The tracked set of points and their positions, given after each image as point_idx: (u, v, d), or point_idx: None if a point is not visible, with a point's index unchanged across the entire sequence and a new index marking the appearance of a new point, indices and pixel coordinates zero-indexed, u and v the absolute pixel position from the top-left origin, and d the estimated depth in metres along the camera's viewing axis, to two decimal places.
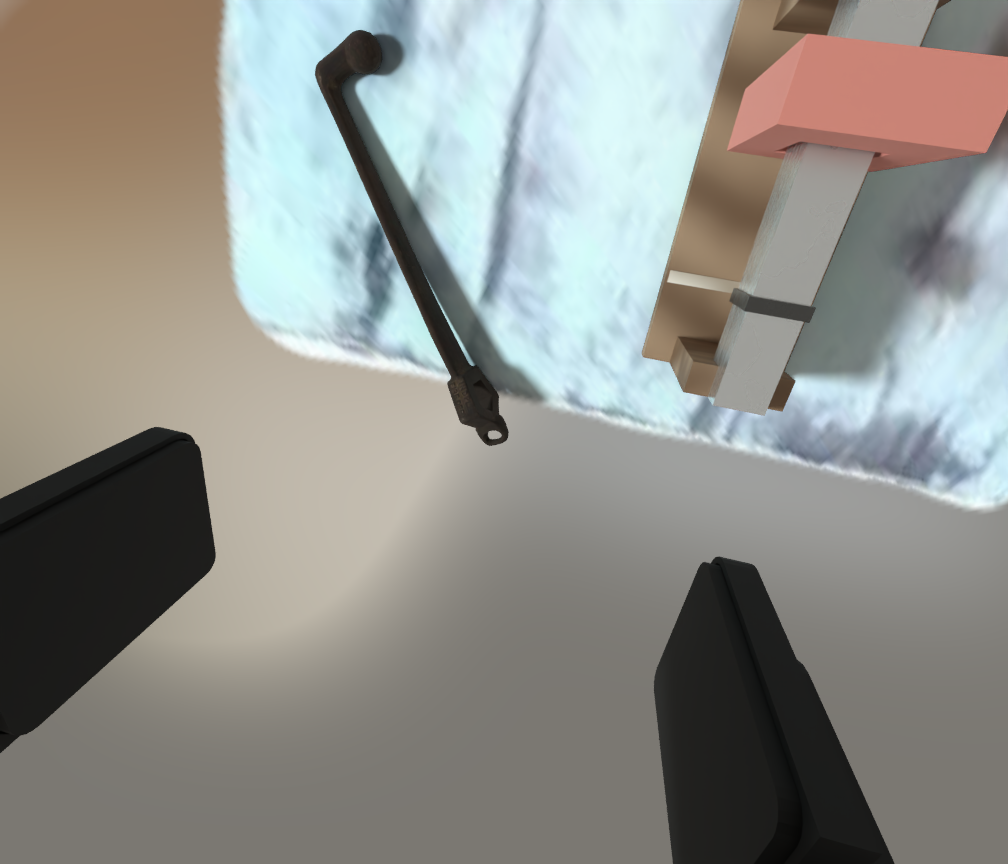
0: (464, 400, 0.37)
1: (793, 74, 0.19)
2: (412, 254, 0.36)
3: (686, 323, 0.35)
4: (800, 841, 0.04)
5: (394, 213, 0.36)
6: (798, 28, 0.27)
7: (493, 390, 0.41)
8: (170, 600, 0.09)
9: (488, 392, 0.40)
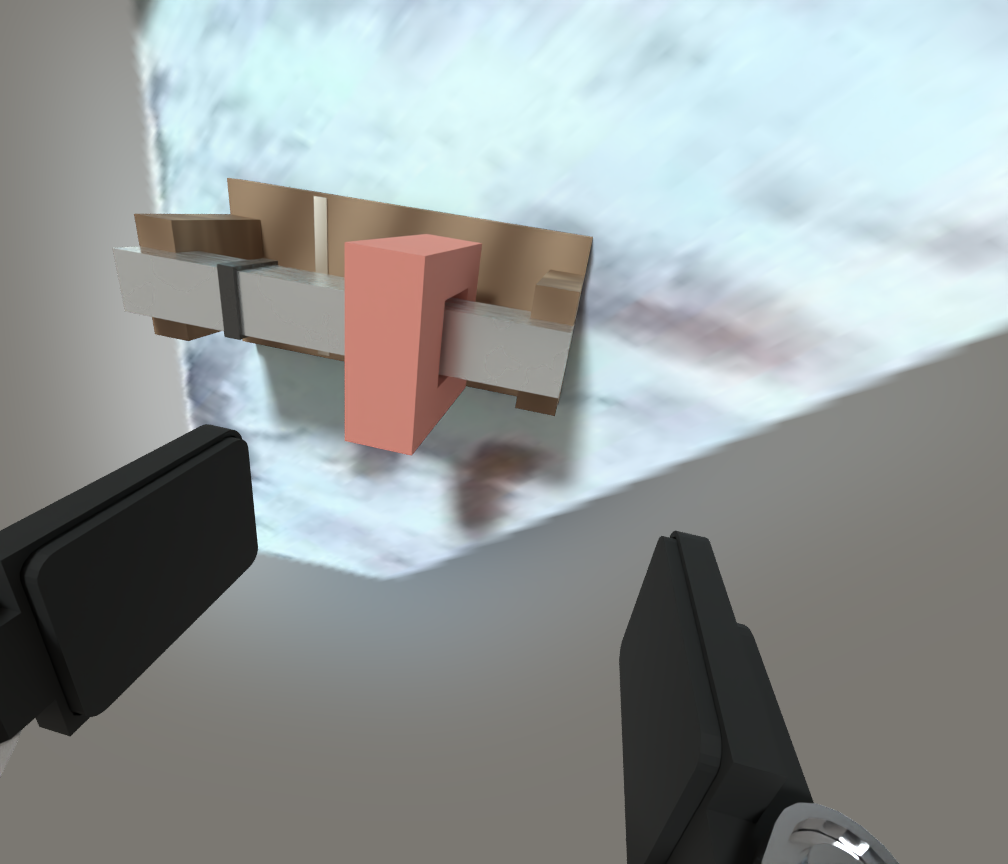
0: None
1: (390, 249, 0.17)
2: None
3: (275, 228, 0.29)
4: (719, 770, 0.05)
5: None
6: None
7: None
8: (219, 591, 0.09)
9: None
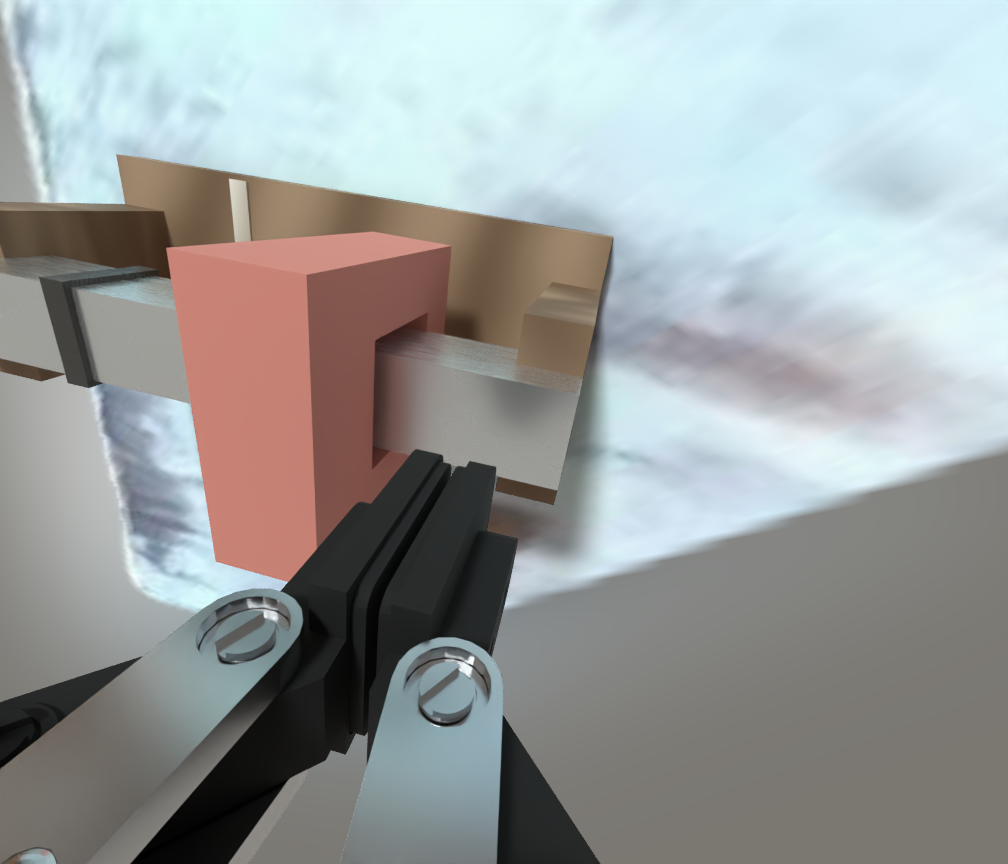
0: None
1: (245, 262, 0.09)
2: None
3: (184, 223, 0.22)
4: (391, 616, 0.06)
5: None
6: None
7: None
8: None
9: None
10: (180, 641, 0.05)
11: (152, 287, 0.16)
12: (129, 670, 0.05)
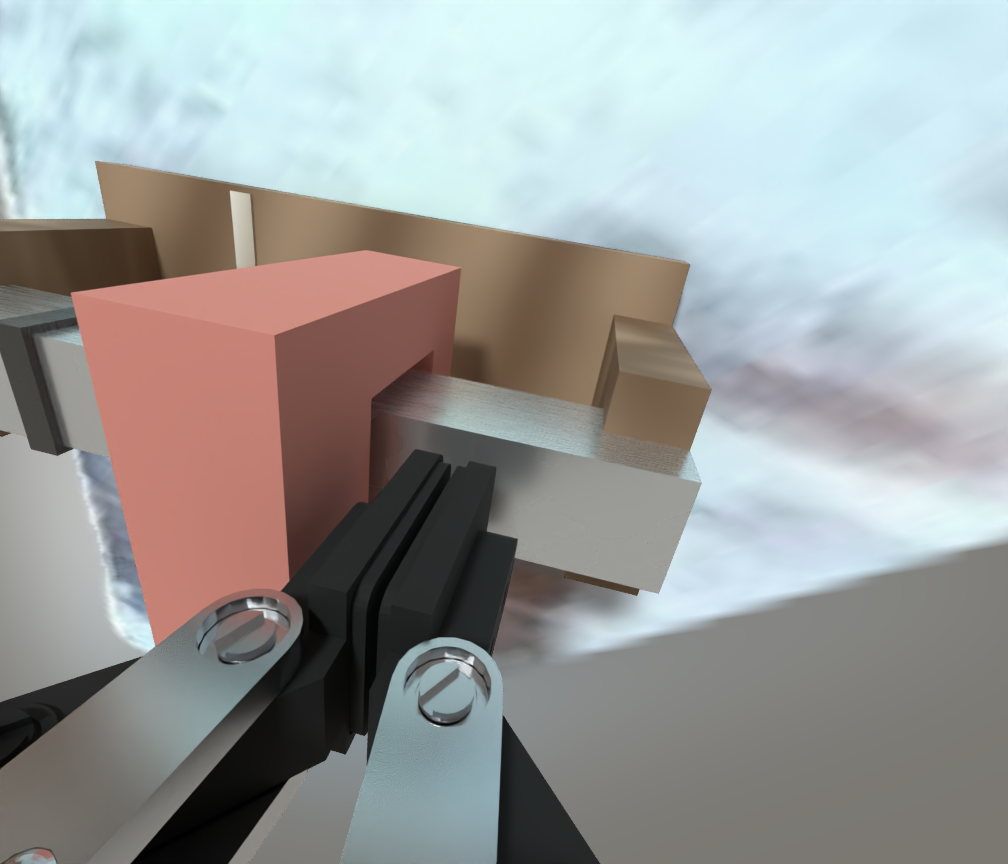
0: None
1: (185, 316, 0.06)
2: None
3: (175, 241, 0.19)
4: (391, 616, 0.06)
5: None
6: (605, 352, 0.17)
7: None
8: None
9: None
10: (180, 641, 0.05)
11: None
12: (128, 670, 0.05)
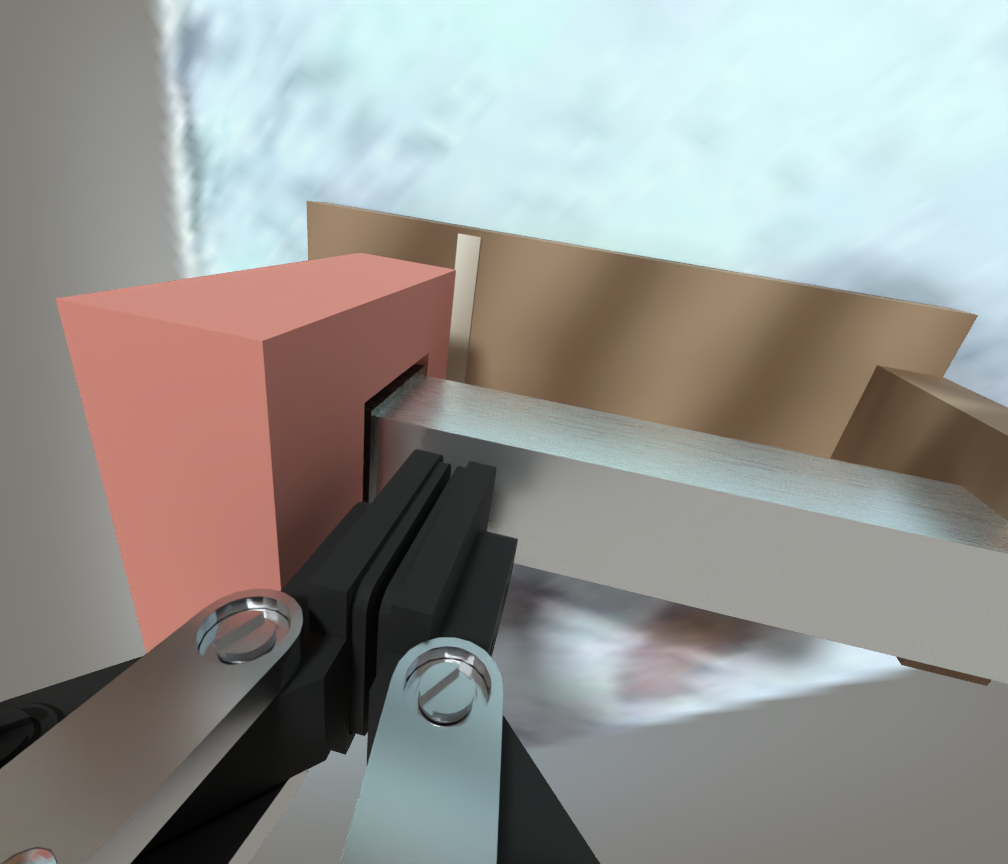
0: None
1: (172, 321, 0.06)
2: None
3: None
4: (391, 616, 0.06)
5: None
6: (869, 406, 0.16)
7: None
8: None
9: None
10: (180, 641, 0.05)
11: (451, 401, 0.12)
12: (129, 670, 0.05)
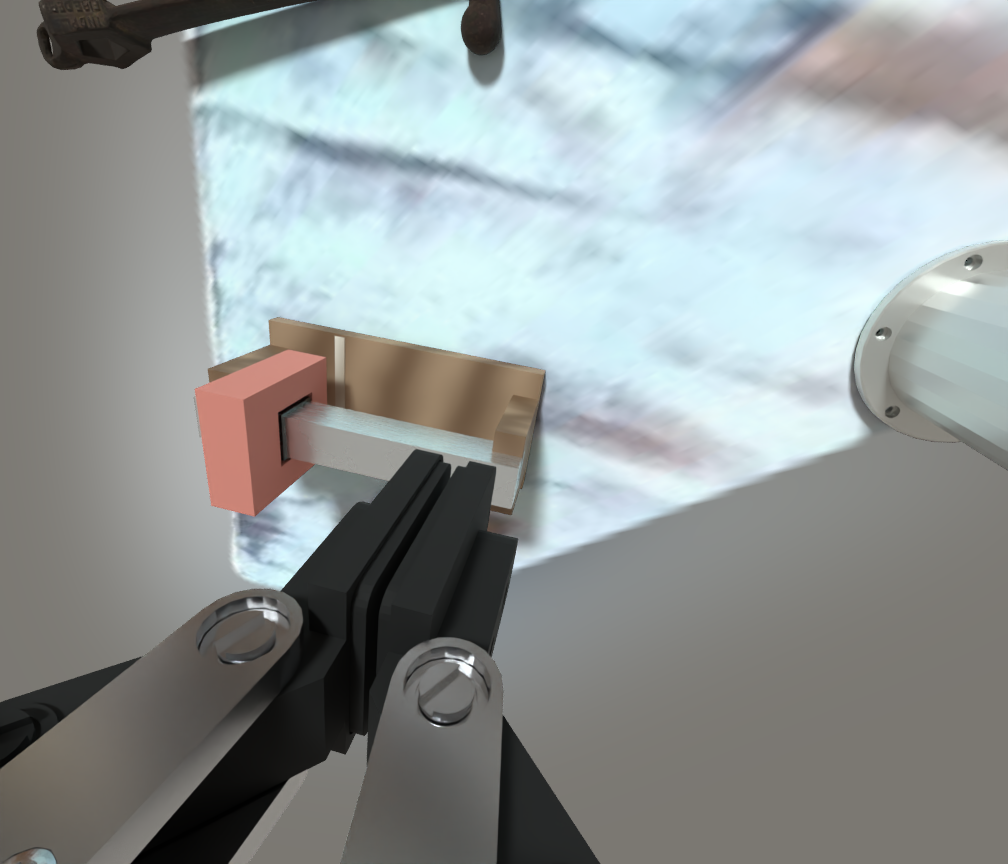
0: (72, 17, 0.28)
1: (222, 395, 0.27)
2: (274, 5, 0.29)
3: None
4: (391, 616, 0.06)
5: None
6: None
7: (126, 63, 0.33)
8: None
9: (117, 56, 0.32)
10: (180, 641, 0.05)
11: (314, 411, 0.32)
12: (129, 670, 0.05)
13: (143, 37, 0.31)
